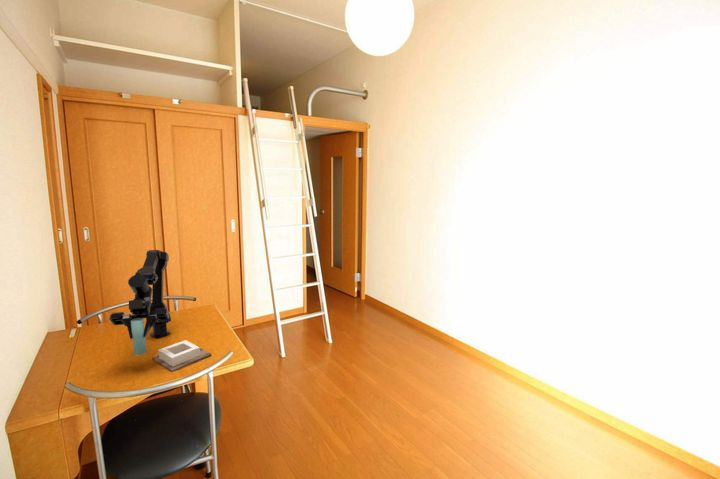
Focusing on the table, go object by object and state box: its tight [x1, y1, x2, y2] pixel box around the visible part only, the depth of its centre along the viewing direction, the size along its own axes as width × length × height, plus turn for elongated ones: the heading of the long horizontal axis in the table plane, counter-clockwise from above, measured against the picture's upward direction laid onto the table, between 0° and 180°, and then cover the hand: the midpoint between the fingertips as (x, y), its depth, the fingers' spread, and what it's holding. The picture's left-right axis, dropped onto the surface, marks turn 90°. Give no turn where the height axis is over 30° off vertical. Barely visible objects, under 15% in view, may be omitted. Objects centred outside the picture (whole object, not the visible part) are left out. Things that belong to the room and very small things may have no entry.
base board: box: [151, 347, 212, 373], centre depth 143 cm, size 16×16×1 cm
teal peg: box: [131, 318, 147, 356], centre depth 131 cm, size 4×4×13 cm
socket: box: [157, 339, 201, 366], centre depth 142 cm, size 11×11×4 cm
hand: (137, 337), depth 130 cm, fingers closed on teal peg, 4 cm apart
